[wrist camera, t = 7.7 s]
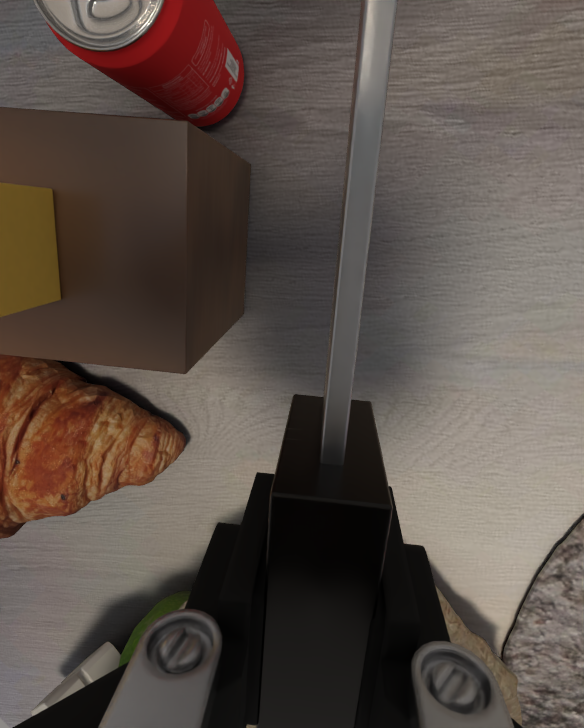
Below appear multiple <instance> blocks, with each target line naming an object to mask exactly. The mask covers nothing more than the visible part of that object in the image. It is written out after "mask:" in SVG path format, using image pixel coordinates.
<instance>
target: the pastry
mask: <svg viewBox="0 0 584 728" xmlns="http://www.w3.org/2000/svg"><path fill="white" fill-rule="evenodd" d="M185 446H186V439H185V437H184V435H183V433H182V432H179V431H177V430H176V429H175V427H173V426H172V425H171V423H170V422H168V421H166V420H165V419H162V418H160V417H159V416H157V415H153V414H151V413H150V412H149V411H148V410H144V409H142V408H140V407H138V406H137V405H136V404H134V403H132V402H131V400H129V399H126V398H125V397H123V396H122V395H120V394H118V393H116V392H114V391H112V390H110V389H109V388H108V387H106V386H102V385H93V384H88V383H87V382H86V379H85V378H83V377H81V376H79V375H77V374H75V373H73V372H72V371H69V370H68V369H67V368H66V367H65V366H63V365H62V364H61V363H59V362H57V361H56V360H50V359H41V358H32V357H22V356H13V355H4V354H0V539H1V538H8V537H10V536H13V535H14V534H15V533H16V532H17V531H18V530H19V529H20V528H21V527H22V526H23V525H24V524H25V523H26V522H27V521H31V520H38V519H43V518H46V517H51V516H67V515H71V514H74V513H76V512H77V511H79V510H80V509H81V508H83V507H85V506H86V505H87V504H88V503H89V502H90V501H95V500H98V499H101V498H102V497H103V496H104V495H105V494H108V493H111V492H114V491H117V490H118V489H120V488H122V487H124V486H127V485H137V486H141V485H145V484H147V483H149V482H152V481H153V480H154V479H155V477H156V476H157V475H158V474H160V473H162V472H163V471H164V470H165V469H166V468H167V467H168V466H169V465H170V464H171V463H173V462H174V461H175V460H176V459H177V458H178V456H179V455H180V454H181V453H182V451H184V448H185Z"/></svg>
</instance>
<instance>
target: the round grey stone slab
mask: <svg viewBox="0 0 584 728" xmlns="http://www.w3.org/2000/svg"><path fill="white" fill-rule="evenodd" d="M502 662H503V663H504V664H505V665H506V666H507V667H508V668H509V670H511V671H512V672H513V673H514V674H515V675H516V676H517V679H518V685H517V697H518V700H519V704H520V707H521V717H522V727H523V728H584V518H583V520H582V521H581V522H580V523H579V524H578V525H577V526H576V527H575V528H574V529H573V531H572V532H571V533H570V534H569V535H568V537H567V538H566V539H565V540H564V541H563V542H562V543H561V544H559V545H558V546H557V548H556V549H555V551H554V552H553V554H552V555H551V557H550V558H549V560H548V561H547V563H546V564H545V566H544V567H543V569H542V570H541V571H540V573H539V574H538V576H537V578H536V580H535V582H534V584H533V586H532V588H531V590H530V592H529V594H528V595H527V597H526V599H525V601H524V603H523V606H522V608H521V610H520V612H519V615H518V617H517V620H516V624H515V626H514V628H513V630H512V632H511V634H510V636H509V638H508V641H507V643H506V645H505V648H504V653H503V660H502Z"/></svg>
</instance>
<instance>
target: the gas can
mask: <svg viewBox="0 0 584 728" xmlns="http://www.w3.org/2000/svg"><path fill="white" fill-rule="evenodd" d="M120 657H121V655H120V653H119V652H118V651H117V649H116V648H115V647H114V646H113V645H112V644H111V643H110V642H106V643H105V644H103V645H102V646H101V647H100V648H98V649H97V650H96V651H95V652H94V653H92V654H91V655H90V656H89V657H88V658H86V659H85V660H84V661H83V662H82V663H81V664H80V665H79V666H78V667H77V668H76V669H75V670H74V671H73V672H71V673H70V674H69V675H68V676H67V677H66V678H65V679H64V680H63V681H62V682H61V684H60V685H58V686H57V687H56V688H55V689H54V690H53V691H52V692H51V693H50V694H49V695H48V696H46V697H45V698H44V699H43V700H42V701H41V702H40V703H39V704H38V705H37V706H36V707H35V708H34V709H33V710H32V711H31V714H32V715H33V716H34V715H36V714H38V713H39V712H41V711H43V710H45V709H46V708H48V707H50V706H52V705H53V704H55V703H57V702H59V701H60V700H62V699H64V698H66V697H67V696H69V695H71V694H73V693H74V692H76V691H78V690H80V689H81V688H83V687H85V686H87V685H88V684H90V683H92V682H94V681H95V680H97V679H99V678H101V677H102V676H104V675H106V674H108V673H109V672H111V671H113V670H115V669H117V668H118V666H119V662H120Z"/></svg>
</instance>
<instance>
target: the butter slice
mask: <svg viewBox="0 0 584 728" xmlns="http://www.w3.org/2000/svg"><path fill="white" fill-rule="evenodd" d="M58 300H61V293H60V280H59V268H58V255H57V242H56V230H55V217H54V204H53V192H52V189H51V188H42V187H33V186H25V185H16V184H7V183H0V317H2V316H6V315H9V314H13V313H16V312H20V311H23V310H27V309H30V308H34V307H37V306H41V305H44V304H48V303H51V302H55V301H58Z"/></svg>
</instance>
